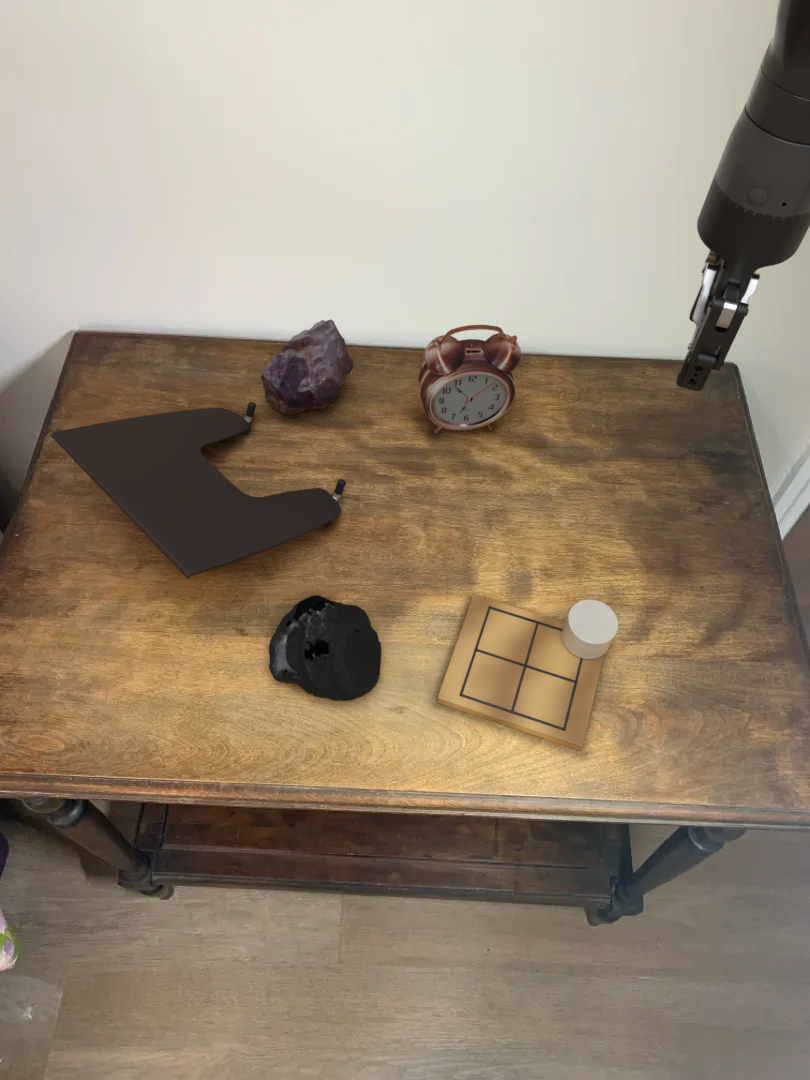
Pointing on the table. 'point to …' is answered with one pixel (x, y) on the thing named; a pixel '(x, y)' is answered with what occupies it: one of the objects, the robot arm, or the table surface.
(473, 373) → the alarm clock
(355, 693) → the rock
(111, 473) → the laptop tray
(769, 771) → the table surface
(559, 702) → the board
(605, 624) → the stone
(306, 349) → the rock
